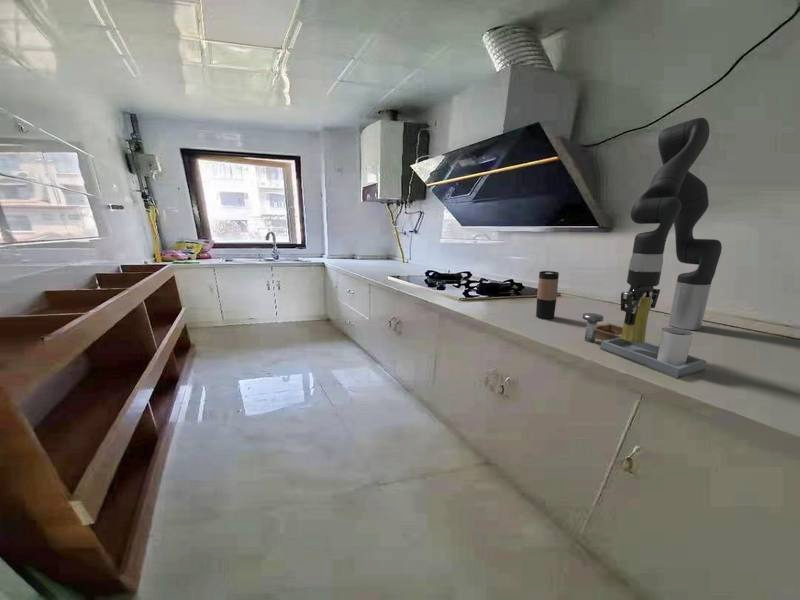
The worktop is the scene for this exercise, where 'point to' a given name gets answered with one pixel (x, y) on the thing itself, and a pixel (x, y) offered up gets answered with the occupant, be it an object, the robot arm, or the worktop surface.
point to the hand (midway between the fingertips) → (635, 322)
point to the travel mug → (547, 294)
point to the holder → (605, 328)
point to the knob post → (591, 325)
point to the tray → (651, 357)
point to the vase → (637, 323)
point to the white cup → (674, 346)
